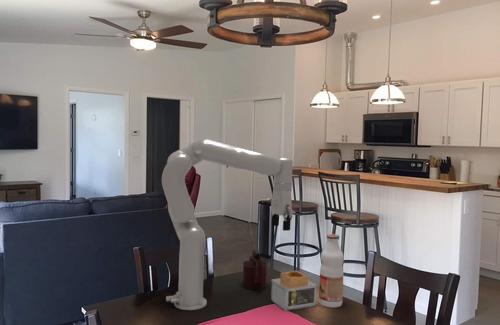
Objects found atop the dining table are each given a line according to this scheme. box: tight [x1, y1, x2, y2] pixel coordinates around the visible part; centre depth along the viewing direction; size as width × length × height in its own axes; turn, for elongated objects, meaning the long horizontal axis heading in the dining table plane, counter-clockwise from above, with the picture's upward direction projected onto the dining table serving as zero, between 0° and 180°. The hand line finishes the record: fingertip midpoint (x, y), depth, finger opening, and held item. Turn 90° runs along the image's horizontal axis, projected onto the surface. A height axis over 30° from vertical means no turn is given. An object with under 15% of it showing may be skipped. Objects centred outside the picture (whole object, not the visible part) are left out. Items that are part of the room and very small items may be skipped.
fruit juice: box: [318, 233, 345, 309], centre depth 162 cm, size 9×9×28 cm
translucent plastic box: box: [270, 270, 318, 312], centre depth 161 cm, size 14×12×12 cm
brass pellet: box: [288, 291, 298, 303], centre depth 162 cm, size 4×4×5 cm
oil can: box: [242, 223, 268, 290], centre depth 184 cm, size 28×11×25 cm, turn 11°
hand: (280, 227), depth 167 cm, fingers open, 9 cm apart
